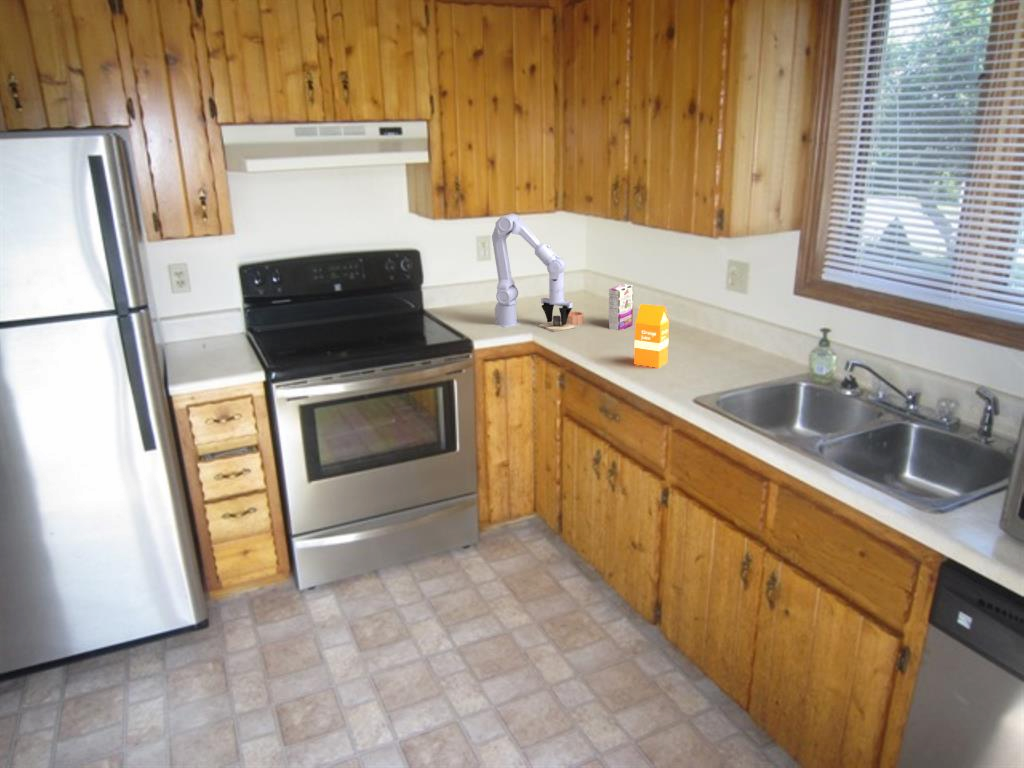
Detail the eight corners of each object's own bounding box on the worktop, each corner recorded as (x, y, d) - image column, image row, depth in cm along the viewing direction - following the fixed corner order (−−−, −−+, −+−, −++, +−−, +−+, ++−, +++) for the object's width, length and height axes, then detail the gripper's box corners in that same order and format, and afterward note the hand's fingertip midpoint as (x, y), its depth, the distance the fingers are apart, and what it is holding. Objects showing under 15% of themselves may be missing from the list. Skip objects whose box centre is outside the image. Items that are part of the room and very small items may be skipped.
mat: (537, 327, 297) (537, 326, 296) (560, 323, 302) (560, 322, 302) (553, 333, 288) (553, 332, 288) (576, 328, 293) (576, 327, 293)
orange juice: (643, 358, 253) (645, 301, 247) (667, 362, 249) (670, 304, 242) (633, 364, 247) (635, 306, 241) (658, 368, 243) (661, 309, 236)
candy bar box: (621, 323, 299) (622, 283, 294) (632, 325, 296) (634, 284, 291) (607, 329, 291) (608, 288, 285) (618, 331, 288) (620, 289, 283)
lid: (539, 326, 296) (539, 315, 295) (559, 322, 301) (559, 312, 300) (553, 331, 288) (553, 320, 287) (574, 327, 293) (574, 317, 292)
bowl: (560, 322, 304) (560, 313, 302) (575, 319, 308) (576, 310, 306) (571, 326, 297) (571, 316, 296) (587, 323, 301) (587, 314, 300)
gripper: (577, 290, 288) (577, 324, 292) (549, 285, 297) (549, 318, 302) (566, 293, 283) (566, 327, 287) (537, 288, 292) (537, 322, 297)
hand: (556, 323), depth 294 cm, fingers open, 7 cm apart
